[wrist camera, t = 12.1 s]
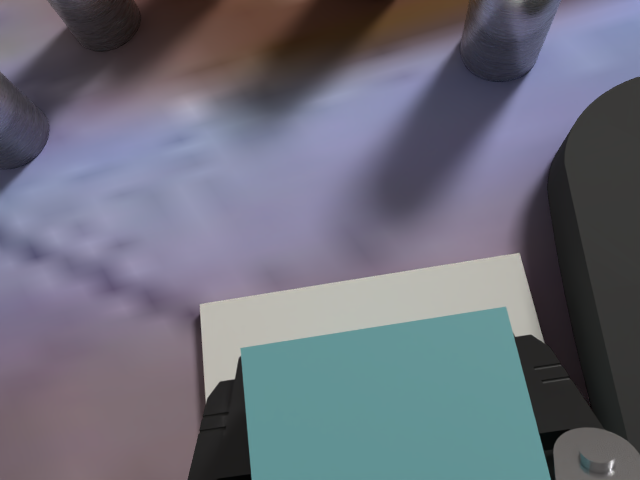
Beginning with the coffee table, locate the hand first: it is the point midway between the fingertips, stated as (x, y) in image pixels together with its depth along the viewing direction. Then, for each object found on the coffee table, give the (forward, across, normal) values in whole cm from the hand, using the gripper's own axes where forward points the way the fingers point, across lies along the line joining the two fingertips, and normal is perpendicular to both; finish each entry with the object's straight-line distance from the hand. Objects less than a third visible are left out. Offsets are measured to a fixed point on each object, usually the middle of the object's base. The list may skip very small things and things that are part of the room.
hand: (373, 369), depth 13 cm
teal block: (+2, 0, +5) cm, 5 cm away
